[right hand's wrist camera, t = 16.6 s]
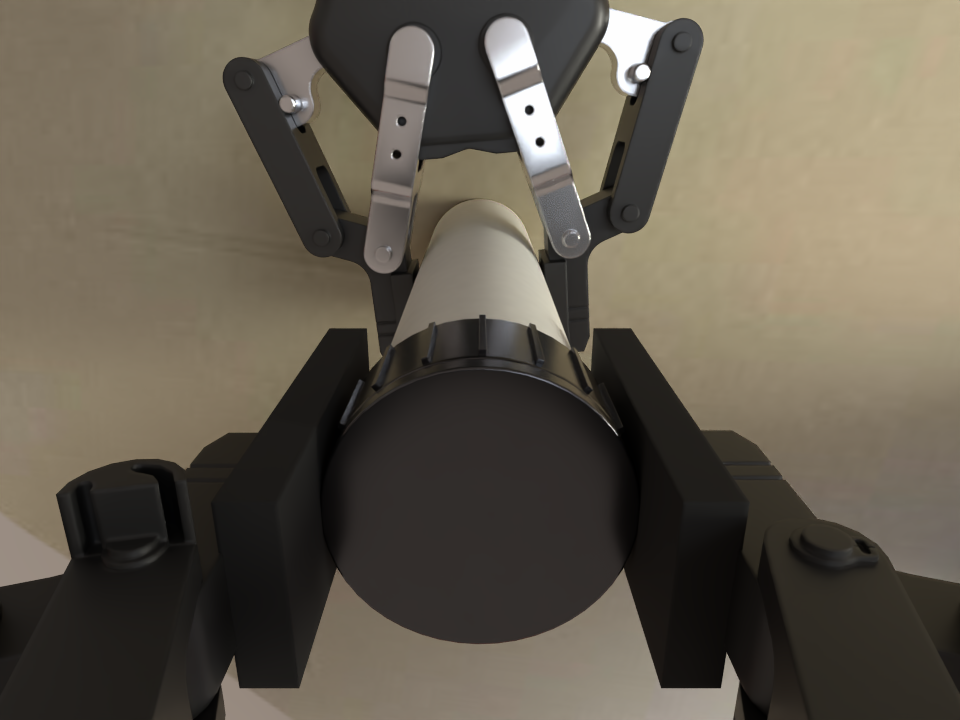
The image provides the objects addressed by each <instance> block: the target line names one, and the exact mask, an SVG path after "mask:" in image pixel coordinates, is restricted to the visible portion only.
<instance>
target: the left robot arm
mask: <svg viewBox="0 0 960 720" xmlns="http://www.w3.org/2000/svg"><path fill="white" fill-rule="evenodd" d="M703 40H704V39H703V33H702V30H701V28H700V26H699V25H698V24H697V23H696V22H695V21H693V20H691V19H687V18H680V19H676V20H673V21H670V22H661V21H657V20H653V19H649V18H645V17H642V16H638V15H634V14H630V13H626V12H622V11H619V10H615V9H611V8H609V2H608V0H316V4H315V8H314V10H313V13H312V16H311V19H310V24H309V36H307V37H305V38H303V39H301V40H299V41H297V42H295V43H293V44H290V45H288V46H286V47H284V48H282V49H280V50H278V51H276V52H273V53H271V54H269V55H267V56H265V57H263V58H261V59H251V58H246V57H238V58H235V59H233V60H231V61H230V62H229V63H228V64H227V65H226V67H225V69H224V72H223V83H224V87H225V89H226V91H227V93H228V95H229V97H230V99H231V101H232V103H233V105H234V107H235V109H236V111H237V113H238V115H239V117H240V119H241V121H242V123H243V125H244V127H245V129H246V131H247V133H248V135H249V137H250V139H251V141H252V143H253V145H254V147H255V149H256V151H257V153H258V155H259V157H260V159H261V161H262V163H263V165H264V167H265V169H266V171H267V172H268V174H269V176H270V178H271V180H272V182H273V184H274V186H275V188H276V190H277V192H278V194H279V196H280V198H281V200H282V202H283V204H284V206H285V208H286V210H287V212H288V214H289V216H290V218H291V220H292V222H293V224H294V226H295V228H296V230H297V232H298V234H299V236H300V238H301V240H302V242H303V244H304V246H305V247H306V249H307V250H308V251H309V252H310V253H311V254H313V255H315V256H318V257H329V256H333V257H337V258H341V259H345V260H349V261H352V262H355V263H357V264H358V265H360V266H361V267H362V268H363V269H364V270H365V271H366V272H367V274H368V276H369V278H370V282H371V289H372V296H373V303H374V310H375V317H376V323H377V332H378V339H379V346H380V352H381V354H382V356H383V355H384V352H385V349H386V347H388V346H389V345H390V344H391V343H392V341H393V338H394V336H395V333H396V330H397V328H398V325H399V322H400V320H401V317H402V314H403V312H404V309H405V306H406V304H407V301H408V298H409V296H410V293H411V290H412V288H413V285H414V282H415V280H416V277H417V275H418V272H419V264H418V259H414V260H411V253H410V243H411V237H412V231H413V225H414V219H415V213H416V207H417V201H418V195H419V191H420V187H421V182H422V177H423V171H424V165H425V160H426V159H438V158H444V157H447V156H449V155H452V154H455V153H457V152H460V151H463V150H465V149H475V150H481V151H486V152H491V153H507V152H517V154H518V157H519V160H520V163H521V165H522V168H523V171H524V174H525V177H526V179H527V182H528V185H529V187H530V190H531V193H532V196H533V199H534V202H535V205H536V207H537V210H538V213H539V216H540V219H541V222H542V225H543V228H544V245H545V249H542V250H538V251H539V265H540V268H541V271H542V273H543V276H544V279H545V281H546V284H547V286H548V289H549V292H550V294H551V297H552V300H553V302H554V305H555V308H556V310H557V313H558V316H559V318H560V321H561V324H562V326H563V329H564V332H565V334H566V337H567V339H568V342H569V345H570V347H571V348H572V347H574V348H575V349H576V350H577V351H578V352H581V351H584V350H585V347H586V344H587V342H588V339H589V337H590V333H589V299H588V258H589V256H590V254H591V252H592V250H593V249H594V248H595V247H596V246H597V245H598V244H599V243H601V242H603V241H605V240H607V239H609V238H611V237H614V236H616V235H618V234H620V233H622V232H623V233H634V232H637V231H639V230H640V229H642V228H643V227H644V226H645V225H646V223H647V221H648V219H649V216H650V213H651V210H652V207H653V204H654V200H655V197H656V194H657V191H658V188H659V184H660V181H661V178H662V175H663V172H664V169H665V165H666V162H667V159H668V156H669V153H670V149H671V146H672V143H673V140H674V137H675V133H676V130H677V127H678V124H679V121H680V117H681V114H682V111H683V108H684V105H685V101H686V98H687V95H688V92H689V89H690V85H691V82H692V79H693V76H694V73H695V69H696V66H697V63H698V60H699V57H700V54H701V50H702V47H703ZM598 46H599V47H601V48H603V49H604V50H605V51H606V52H607V53H608V55H609V56H610V59H611V63H612V70H611V82H612V85H613V87H614V89H615V90H616V91H617V92H618V93H619V94H621V95H623V96H627V97H626V100H625V104H624V107H623V111H622V114H621V118H620V121H619V125H618V128H617V132H616V135H615V139H614V143H613V146H612V150H611V153H610V157H609V160H608V164H607V167H606V171H605V174H604V178H603V181H602V185H601V188H600V192H598V193H596V194H594V195H591V196H589V197H587V198H585V199H583V200H580V199H579V196H578V193H577V190H576V187H575V184H574V180H573V176H572V170H571V167H570V163H569V160H568V157H567V154H566V151H565V148H564V144H563V141H562V138H561V135H560V132H559V129H558V126H557V123H556V120H555V117H556V116H557V114H558V112H559V111H560V109H561V107H562V106H563V104H564V102H565V101H566V99H567V97H568V96H569V94H570V92H571V91H572V89H573V87H574V86H575V84H576V83H577V81H578V79H579V78H580V76H581V74H582V73H583V71H584V69H585V68H586V66H587V64H588V63H589V61H590V59H591V58H592V56H593V55H594V53H595V51H596V50H597V48H598ZM325 72H327V73H328V74H329V75H330V76H331V77H332V78H333V80H334V81H335V82H336V83H337V84H338V85H339V87H340V88H341V89H342V90H343V91H344V92H345V94H346V95H347V96H348V97H349V98H350V99H351V100H352V102H353V103H354V104H355V105H356V106H357V107H358V109H359V110H360V111H361V112H362V113H363V114H364V115H365V117H366V118H367V119H368V120H369V121H370V122H371V124H372V125H373V126H374V127H375V128H376V129H377V131H378V138H377V145H376V153H375V160H374V167H373V174H372V181H371V204H370V211H369V218H368V217H364V216H360V215H357V214H353V213H351V212H350V209H349V207H348V205H347V203H346V201H345V199H344V197H343V195H342V193H341V190H340V188H339V186H338V184H337V182H336V180H335V178H334V176H333V173H332V171H331V169H330V167H329V165H328V163H327V161H326V159H325V157H324V154H323V152H322V150H321V148H320V146H319V144H318V142H317V140H316V137H315V135H314V133H313V131H312V129H311V127H310V125H309V124H310V123H312V122H314V121H315V120H316V119H317V117H318V115H319V113H320V109H321V103H320V99H319V96H318V82H319V79H320V78H321V76H322V75H323V74H324V73H325Z"/></svg>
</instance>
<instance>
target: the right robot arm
mask: <svg viewBox="0 0 960 720" xmlns="http://www.w3.org/2000/svg"><path fill="white" fill-rule="evenodd" d="M591 372H592V374H593V376H594V377H595V379H596V380H597V382H598V383H599V384H601V383H604V384H605V386H606V388H607V390H608V393H609V395H610V397H611V399H612V402H613V404H614V406H615V408H616V410H617V413H618V415H619V417H620V419H621V421H622V424H623V426H624V428H625V430H626V432H624V433H622V434H621V435H622V437H623V440H624V442H625V444H626V447H627V449H628V451H629V454H630V456H631V458H632V460H633V463H634V466H635V470H636V473H637V477H638V480H639V488H640V512H639V523H638V532H637V537H636V540H635V543H634V545H633V548H632V551H631V554H630V556H629V558H628V560H627V562H626V564H625V566H624V570H625V573H626V577H627V580H628V583H629V586H630V589H631V593H632V596H633V599H634V602H635V605H636V609H637V612H638V615H639V618H640V621H641V625H642V628H643V631H644V634H645V637H646V641H647V644H648V647H649V650H650V653H651V657H652V660H653V663H654V666H655V669H656V673H657V676H658V679H659V682H660V685H661V688H721V684H722V677H723V671H724V665H725V658H726V652H727V654H728V656H729V658H730V660H731V663H732V665H733V667H734V669H735V671H736V674H737V676H738V678H739V680H740V682H739V688H738V694H737V700H736V706H735V712H734V718H733V720H960V584H958V583H953V582H948V581H943V580H938V579H932V578H927V577H922V576H917V575H911V574H907V573H903V572H899V571H895V569H894V567H893V565H892V563H891V562H890V560H889V558H888V557H887V555H886V554H885V553H884V552H883V551H882V549H881V548H880V547H879V546H878V545H877V544H876V543H874V542H873V541H871V540H870V539H868V538H867V537H865V536H864V535H862V534H861V533H859V532H857V531H855V530H852V529H850V528H847V527H845V526H842V525H840V524H837V523H833V522H829V521H824V520H819V519H817V518H816V517H815V516H814V514H813V513H812V512H811V511H810V510H809V508H808V507H807V506H806V505H805V503H804V502H803V501H802V500H801V499H800V497H799V496H798V495H797V494H796V492H795V491H794V490H793V489H792V488H791V486H790V485H789V484H788V483H787V482H786V480H782V475H781V474H780V473H779V472H778V471H777V469H776V468H775V467H774V466H773V465H771V462H770V461H769V460H768V458H767V457H766V456H765V455H764V453H763V452H762V451H761V450H760V449H759V447H758V446H757V445H756V444H754V443H752V442H751V441H749V440H747V439H745V438H744V437H742V436H740V435H739V434H737V433H735V432H734V431H701V430H700V429H699V427H698V426H697V424H696V423H695V422H694V420H693V419H692V417H691V416H690V414H689V413H688V411H687V410H686V408H685V407H684V405H683V404H682V403H681V401H680V400H679V398H678V397H677V395H676V394H675V392H674V391H673V389H672V388H671V386H670V385H669V384H668V382H667V381H666V379H665V378H664V376H663V375H662V373H661V372H660V370H659V369H658V367H657V366H656V365H655V363H654V362H653V360H652V359H651V357H650V356H649V354H648V353H647V351H646V350H645V348H644V347H643V346H642V344H641V343H640V341H639V340H638V338H637V337H636V335H635V334H634V332H633V331H632V329H631V328H594V331H593V348H592V364H591ZM368 373H369V357H368V340H367V328H330V329H329V330H328V332H327V333H326V334H325V336H324V337H323V339H322V340H321V342H320V343H319V345H318V346H317V348H316V349H315V351H314V352H313V353H312V355H311V356H310V358H309V359H308V361H307V362H306V364H305V365H304V367H303V368H302V370H301V371H300V372H299V374H298V375H297V377H296V378H295V380H294V381H293V383H292V384H291V386H290V387H289V389H288V390H287V392H286V393H285V394H284V396H283V397H282V399H281V400H280V402H279V403H278V405H277V406H276V408H275V409H274V411H273V412H272V413H271V415H270V416H269V418H268V419H267V421H266V422H265V424H264V425H263V427H262V428H261V430H260V431H259V432H258V433H228V434H226V435H224V436H223V437H221V438H219V439H218V440H216V441H214V442H212V443H211V444H209V445H207V446H206V447H204V448H203V450H202V451H201V452H200V453H199V454H198V456H197V457H196V458H195V459H194V461H193V462H192V463H191V464H190V468H187V469H186V470H184V469H183V468H182V467H180V466H179V465H177V464H176V463H174V462H170V461H165V460H160V459H135V460H130V461H124V462H119V463H113V464H109V465H107V466H104V467H101V468H98V469H95V470H92V471H89V472H87V473H85V474H83V475H81V476H79V477H78V478H76V479H74V480H72V481H70V482H68V483H67V484H66V485H65V486H64V487H63V488H62V489H61V490H60V491H59V492H58V493H57V494H56V497H57V501H58V505H59V509H60V513H61V517H62V521H63V525H64V530H65V534H66V538H67V542H68V546H69V550H70V554H71V558H72V559H71V561H70V563H69V565H68V567H67V569H66V570H65V572H64V574H62V575H58V576H54V577H50V578H45V579H39V580H34V581H29V582H24V583H19V584H13V585H8V586H3V587H0V720H225V708H224V700H223V694H222V688H221V683H222V681H223V678H224V676H225V674H226V672H227V669H228V667H229V665H230V663H231V661H232V658H233V656H234V655H235V662H236V668H237V675H238V681H239V687H240V688H299V687H300V684H301V680H302V677H303V674H304V671H305V668H306V664H307V661H308V658H309V655H310V652H311V648H312V645H313V642H314V639H315V636H316V632H317V629H318V626H319V623H320V620H321V616H322V613H323V610H324V607H325V604H326V600H327V597H328V594H329V591H330V587H331V584H332V581H333V578H334V575H335V571H336V568H337V567H336V565H335V563H334V561H333V559H332V557H331V555H330V553H329V550H328V548H327V544H326V541H325V538H324V535H323V528H322V518H321V507H320V491H321V484H322V478H323V474H324V471H325V468H326V465H327V462H328V459H329V456H330V454H331V452H332V450H333V447H334V445H335V442H336V440H337V438H338V436H339V433H340V431H341V430H340V429H338V428H337V425H338V423H339V421H340V419H341V416H342V414H343V412H344V410H345V408H346V405H347V403H348V401H349V399H350V396H351V394H352V392H353V390H354V388H355V385H356V383H357V381H358V380H359V379H360V380H362V381H364V379H365V378H366V376H367V375H368Z"/></svg>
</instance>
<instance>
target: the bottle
mask: <svg viewBox="0 0 960 720" xmlns="http://www.w3.org/2000/svg"><path fill="white" fill-rule="evenodd" d="M479 315H486V319H499V320H505V321H510V322H515V323H519V324H522V325H525V326H529V323H532V324H534V325H536V329H537V330H539V331H541V332H543V333H545V334H547V335H549V336H551V337H553V338H554V339H556V340H557V341H559V342H560V343H562V344H563V345H565V346H566V347H567V348H569V349H571V347H570V345H569V342H568V339H567V337H566V334H565V332H564V329H563V326H562V324H561V321H560V318H559V316H558V313H557V310H556V308H555V305H554V302H553V300H552V297H551V294H550V292H549V289H548V286H547V284H546V281H545V279H544V276H543V273H542V271H541V268H540V265H539V263H538V260H537V257H536V255H535V252H534V249H533V247H532V244H531V241H530V239H529V236H528V234H527V231H526V229H525V226H524V225H523V223H522V221H521V220H520V218H519V217H518V216H517V215H516V214H515V213H514V212H513V211H512V210H511V209H509V208H508V207H506V206H505V205H503V204H501V203H498V202H496V201H492V200H487V199H474V200H468V201H465V202H462V203H460V204H458V205H456V206H454V207H453V208H451V209H450V210H449V211H447V212H446V213H445V214H444V215H443V216H442V218H441V219H440V220H439V222H438V223H437V225H436V227H435V229H434V232H433V235H432V237H431V240H430V243H429V245H428V248H427V251H426V253H425V256H424V259H423V261H422V264H421V267H420V269H419V272H418V275H417V277H416V280H415V282H414V285H413V288H412V290H411V293H410V296H409V298H408V301H407V304H406V306H405V309H404V312H403V314H402V317H401V320H400V322H399V325H398V328H397V330H396V333H395V336H394V338H393V341H392V343H391V345H392V346H393V347H395V346H396V345H397V344H399V343H400V342H402V341H403V340H405V339H407V338H408V337H410V336H411V335H413V334H416V333H418V332H420V331H422V330H424V329H426V328H428V326H429V323H432V322H435V323H436V325H439V324H442V323H445V322H450V321H456V320H462V319H477V318H479Z"/></svg>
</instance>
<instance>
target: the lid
mask: <svg viewBox="0 0 960 720" xmlns="http://www.w3.org/2000/svg"><path fill="white" fill-rule="evenodd" d="M337 428H338V429H340V430H341V431H340V433H339V436H338V438H337V440H336V442H335V445H334V447H333V450H332V452H331V454H330V456H329V459H328V462H327V465H326V468H325V471H324V474H323V478H322V484H321V491H320V507H321V518H322V528H323V535H324V538H325V541H326V544H327V548H328V550H329V553H330V555H331V557H332V559H333V561H334V563H335V565H336V567H337V568H338V570H339V572H340V573H341V575H342V576H343V578H344V579H345V581H346V582H347V583H348V584H349V585H350V587H351V588H352V589H353V590H354V591H355V592H356V594H357V595H358V596H359V597H360V598H362V599H363V600H364V601H365V602H366V603H367V604H368V605H369V606H370V607H372V608H373V609H374V610H376V611H377V612H379V613H380V614H382V615H383V616H384V617H386V618H387V619H389V620H391V621H393V622H395V623H397V624H399V625H400V626H402V627H404V628H407V629H409V630H412V631H414V632H417V633H419V634H422V635H425V636H429V637H432V638H436V639H439V640H445V641H451V642H457V643H470V644H491V643H503V642H509V641H516V640H520V639H524V638H528V637H532V636H536V635H538V634H541V633H544V632H546V631H549V630H552V629H554V628H556V627H558V626H560V625H562V624H564V623H566V622H568V621H570V620H571V619H573V618H574V617H576V616H577V615H579V614H580V613H582V612H583V611H585V610H586V609H587V608H589V607H590V606H591V605H592V604H593V603H594V602H596V601H597V600H598V599H599V598H600V597H601V596H602V595H603V594H604V593H605V592H606V591H607V589H608V588H609V587H610V586H611V585H612V584H613V582H614V581H615V580H616V578H617V577H618V575H619V574H620V572H621V571H622V570H623V568H624V566H625V564H626V562H627V560H628V558H629V556H630V554H631V551H632V548H633V545H634V543H635V540H636V537H637V532H638V523H639V512H640V488H639V480H638V477H637V473H636V470H635V466H634V463H633V460H632V458H631V456H630V454H629V451H628V449H627V447H626V444H625V442H624V440H623V437H622V435H621V434H622V433H624V432H626V430H625V428H624V426H623V424H622V421H621V419H620V417H619V415H618V413H617V410H616V408H615V406H614V404H613V402H612V399H611V397H610V395H609V393H608V390H607V388H606V386H605V384H604V383H601V384H599V383H598V382H597V380H596V379H595V377H594V376H593V374H592V372H591V371H590V370H589V369H588V367H587V366H586V365H585V364H584V363H583V362H582V360H581V358H580V356H579V353H578V351H577V350H576V349H575V348H574V347H572V348H571V349H569V348H567V347H566V346H565V345H563V344H562V343H560V342H559V341H557V340H556V339H554V338H553V337H551V336H549V335H547V334H545V333H543V332H541V331H539V330H537V329H536V325H534V324H532V323H529V326H525V325H522V324H519V323H515V322H510V321H505V320H499V319H486V315H479V318H477V319H462V320H456V321H450V322H445V323H442V324H439V325H436V323H435V322H432V323H429V326H428V328H426V329H424V330H422V331H420V332H418V333H416V334H413V335H411V336H410V337H408V338H407V339H405V340H403V341H402V342H400V343H399V344H397V345H396V346H395V347H393V346H392V345H391V344H390V345H389V346H388V347H386V349H385V352H384V355H383V357H382V358H381V359H380V360H379V361H378V362H377V363H376V364H375V366H374V367H373V368H372V369H371V370H370V372H369V373H368V375H367V376H366V378H365V379H364V381H362V380H360V379H359V380H358V381H357V383H356V385H355V388H354V390H353V392H352V394H351V396H350V399H349V401H348V403H347V405H346V408H345V410H344V412H343V414H342V416H341V419H340V421H339V423H338V425H337Z"/></svg>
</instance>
